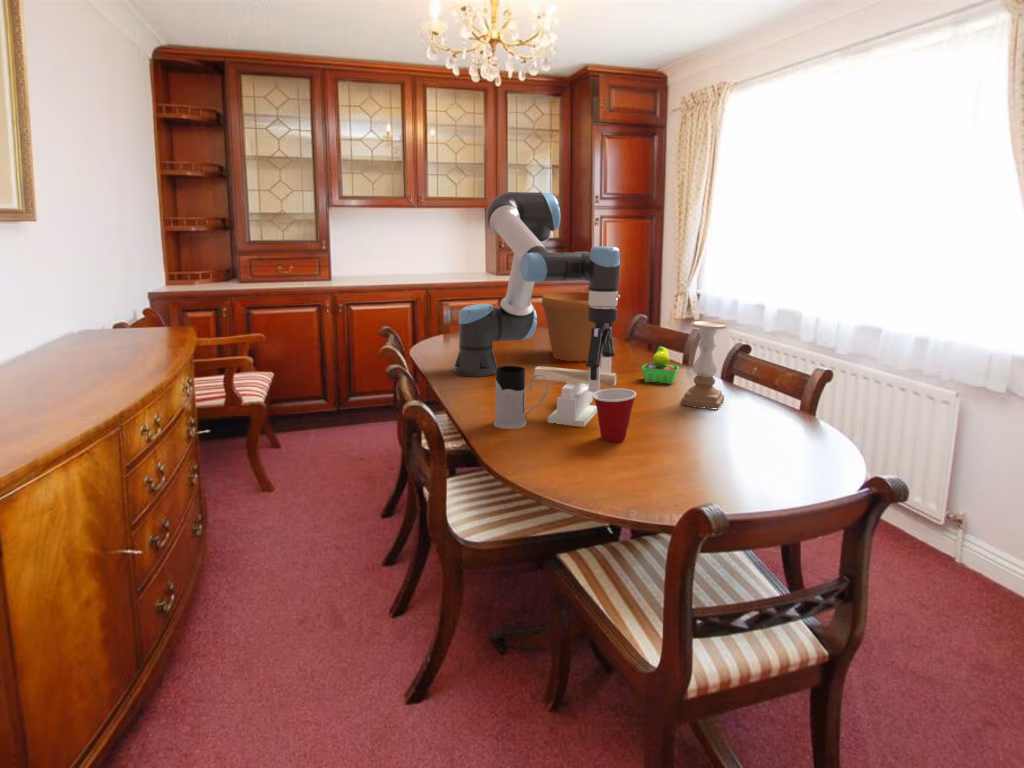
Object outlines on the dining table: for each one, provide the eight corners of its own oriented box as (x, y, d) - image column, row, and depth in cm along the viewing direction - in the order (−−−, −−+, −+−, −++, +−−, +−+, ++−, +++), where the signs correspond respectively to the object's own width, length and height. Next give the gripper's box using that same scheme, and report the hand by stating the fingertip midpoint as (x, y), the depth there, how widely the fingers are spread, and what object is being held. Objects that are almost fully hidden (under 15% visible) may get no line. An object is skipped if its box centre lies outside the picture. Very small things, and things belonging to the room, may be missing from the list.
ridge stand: (563, 407, 200) (564, 373, 197) (597, 411, 196) (599, 376, 194) (547, 422, 185) (548, 386, 183) (583, 427, 182) (585, 390, 179)
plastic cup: (586, 432, 177) (588, 387, 174) (628, 431, 178) (630, 386, 175) (594, 446, 167) (596, 398, 164) (639, 445, 168) (641, 398, 165)
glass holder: (494, 419, 188) (494, 365, 184) (546, 420, 188) (548, 365, 184) (492, 428, 180) (492, 372, 176) (547, 429, 179) (548, 373, 175)
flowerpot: (536, 362, 258) (537, 299, 252) (545, 348, 285) (546, 291, 279) (612, 366, 254) (615, 302, 248) (614, 351, 281) (616, 293, 275)
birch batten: (538, 376, 193) (538, 366, 193) (615, 384, 186) (616, 373, 185) (534, 379, 191) (534, 368, 190) (613, 386, 183) (614, 375, 183)
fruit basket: (639, 382, 230) (641, 349, 227) (645, 376, 238) (647, 344, 235) (674, 386, 226) (676, 352, 223) (679, 380, 234) (681, 347, 231)
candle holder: (724, 401, 208) (731, 322, 202) (718, 410, 199) (725, 327, 193) (687, 396, 213) (693, 319, 207) (680, 405, 203) (685, 324, 197)
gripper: (606, 313, 168) (603, 398, 173) (626, 301, 191) (622, 376, 196) (576, 312, 171) (574, 395, 176) (599, 300, 194) (596, 374, 199)
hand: (599, 385), depth 186 cm, fingers open, 13 cm apart
